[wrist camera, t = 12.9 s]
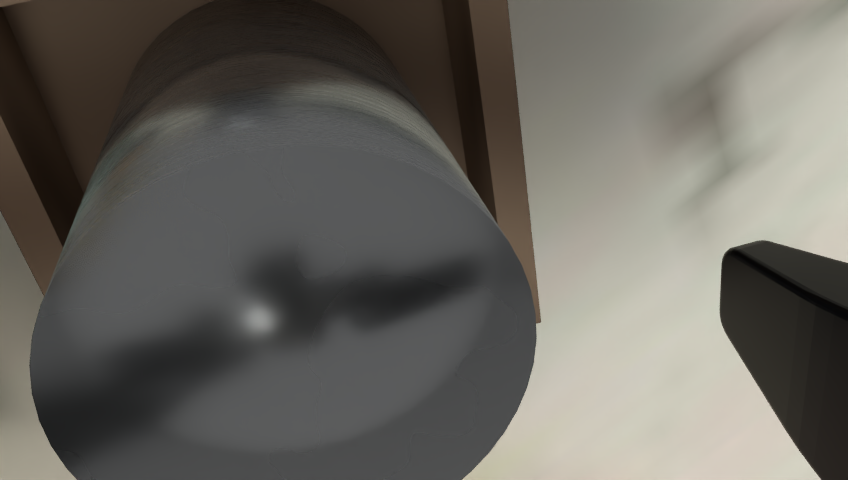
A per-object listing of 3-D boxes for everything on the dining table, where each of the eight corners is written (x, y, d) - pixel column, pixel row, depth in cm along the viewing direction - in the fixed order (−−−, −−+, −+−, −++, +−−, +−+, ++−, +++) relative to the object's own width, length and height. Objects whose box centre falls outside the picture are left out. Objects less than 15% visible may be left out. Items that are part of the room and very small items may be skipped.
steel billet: (430, 225, 16) (553, 478, 10) (176, 290, 15) (139, 601, 9) (382, -37, 13) (510, 88, 7) (72, 29, 12) (-75, 226, 6)
